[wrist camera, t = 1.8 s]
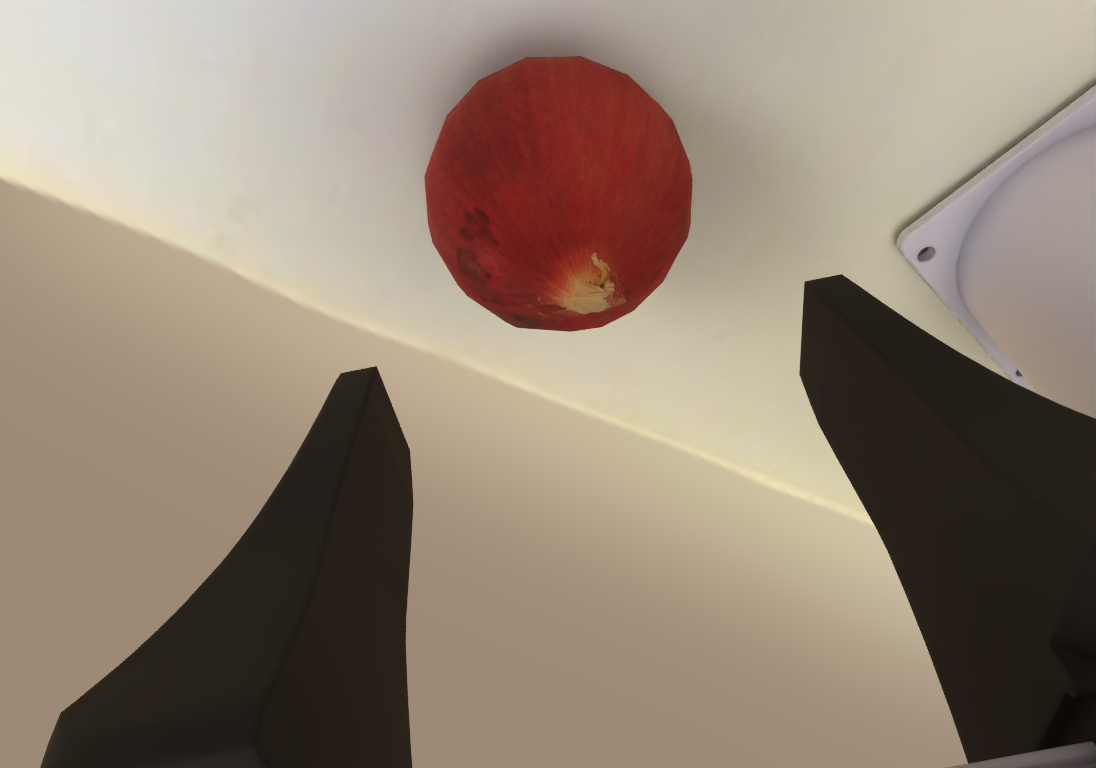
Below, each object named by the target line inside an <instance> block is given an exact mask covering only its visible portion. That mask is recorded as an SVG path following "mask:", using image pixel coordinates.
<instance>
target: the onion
mask: <svg viewBox="0 0 1096 768" xmlns="http://www.w3.org/2000/svg"><path fill="white" fill-rule="evenodd" d="M425 188H426V202H427V215H428V225H429V229H430V234H431V238H432V242H433V244H434V246H435V247H436V249H437V251H438V252H439V254H440V256H441V257H442V259H443V261H444V263H445V264H446V266H447V268H448V269H449V271H450V273H451V274H452V276H453V278H454V280H455V281H456V283H457V284H458V286H459V287H460V288H461V289H462V290H463V291H464V293H465V294H466V295H467V296H468V297H470V298H471V299H473V300H474V301H476V302H477V303H479V304H480V305H481V306H483V307H484V308H486V309H487V310H489V311H490V312H492V313H493V314H495V315H496V316H498V317H499V318H501V319H502V320H504V321H505V322H507V323H509V324H511V325H513V326H515V327H518V328H528V329H542V330H556V331H570V332H571V331H578V330H585V329H591V328H598V327H603V326H604V325H606V324H608V323H610V322H612V321H614V320H616V319H618V318H620V317H622V316H624V315H626V314H628V313H630V312H632V311H634V310H635V309H636V308H637V307H638V306H639V305H640V304H641V303H642V302H643V301H644V300H645V299H646V298H647V297H648V296H649V295H650V294H651V293H652V292H653V291H654V290H655V289H656V288H657V287H658V286H659V285H660V284H661V283H662V282H663V281H664V279H665V277H666V275H667V274H668V272H669V270H670V268H671V266H672V264H673V262H674V260H675V258H676V257H677V255H678V253H679V251H680V250H681V248H682V246H683V245H684V243H685V241H686V239H687V238H688V233H689V228H690V221H691V200H692V174H691V168H690V162H689V160H688V157H687V155H686V152H685V150H684V147H683V145H682V142H681V140H680V137H679V135H678V133H677V130H676V128H675V125H674V123H673V120H672V119H671V118H670V116H669V115H668V114H667V113H666V112H665V111H664V109H663V108H662V107H661V106H660V105H659V104H658V103H657V102H656V101H655V100H654V99H653V98H651V97H650V96H649V95H648V94H647V93H646V92H645V91H644V90H643V89H642V88H641V87H640V86H639V85H638V84H637V83H636V82H635V81H634V80H633V79H631V78H630V77H629V76H628V75H627V74H624V73H622V72H619V71H617V70H614V69H611V68H609V67H606V66H604V65H601V64H599V63H596V62H593V61H591V60H588V59H586V58H583V57H581V56H572V57H526V58H524V59H522V60H520V61H518V62H516V63H514V64H512V65H510V66H508V67H506V68H504V69H502V70H500V71H498V72H496V73H494V74H491V75H489V76H487V77H485V78H483V79H481V80H479V81H478V82H477V83H476V85H475V86H474V87H473V88H472V89H471V90H470V91H469V92H468V93H467V94H466V95H465V97H464V98H463V99H462V100H461V101H460V102H459V103H458V104H457V105H456V106H455V107H454V108H453V110H452V111H451V112H450V113H449V114H448V115H447V117H446V119H445V122H444V124H443V127H442V130H441V132H440V135H439V138H438V140H437V143H436V145H435V148H434V151H433V153H432V156H431V159H430V162H429V165H428V168H427V171H426V174H425Z"/></svg>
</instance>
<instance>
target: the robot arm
mask: <svg viewBox="0 0 1096 768" xmlns="http://www.w3.org/2000/svg"><path fill="white" fill-rule="evenodd" d="M897 247H898V250H899V251H900V252H901V253H902V255H903V256H904V257H905V258H906V259H907V261H908V262H909V263H910V264H911V265H912V266H913V267H914V269H915V270H916V271H917V272H918V273H919V274H920V276H921V277H922V278H923V279H924V280H925V281H926V283H927V284H928V285H929V286H930V287H931V288H932V289H933V291H934V292H935V293H936V294H937V295H938V296H939V298H940V299H941V300H942V301H943V302H944V303H945V304H946V306H947V307H948V308H949V309H950V310H951V311H952V313H953V314H954V315H955V316H956V317H957V318H958V320H959V321H960V322H961V323H962V324H963V325H964V326H965V328H966V329H967V330H968V331H969V332H970V333H971V335H972V336H973V337H974V338H975V339H976V340H977V342H978V343H979V344H980V345H981V346H982V347H983V348H984V350H985V351H986V352H987V353H988V354H989V355H990V357H991V358H992V359H993V360H994V361H995V362H996V364H997V365H998V366H999V367H1000V368H1001V369H1002V370H1003V372H1004V373H1005V374H1006V375H1007V376H1008V377H1009V379H1010V380H1011V381H1010V380H1008V379H1006V378H1004V377H1002V376H1000V375H998V374H996V373H995V372H993V371H991V370H989V369H987V368H986V367H984V366H982V365H980V364H979V363H977V362H975V361H973V360H971V359H970V358H968V357H966V356H964V355H963V354H961V353H959V352H958V351H956V350H954V349H953V348H951V347H949V346H948V345H946V344H944V343H943V342H941V341H940V340H938V339H936V338H935V337H933V336H932V335H930V334H928V333H927V332H925V331H924V330H922V329H921V328H919V327H918V326H916V325H915V324H913V323H912V322H910V321H909V320H907V319H906V318H904V317H903V316H901V315H900V314H898V313H897V312H895V311H894V310H892V309H891V308H890V307H888V306H887V305H885V304H884V303H882V302H881V301H879V300H878V299H877V298H875V297H874V296H872V295H871V294H869V293H868V292H867V291H865V290H864V289H862V288H861V287H859V286H858V285H857V284H855V283H854V282H852V281H851V280H849V279H848V278H846V277H845V276H843V275H842V274H841V275H836V276H831V277H826V278H821V279H816V280H811V281H806V282H805V284H804V302H803V320H802V339H801V357H800V377H801V380H802V382H803V385H804V388H805V390H806V393H807V396H808V398H809V401H810V404H811V406H812V409H813V411H814V414H815V416H816V419H817V421H818V424H819V426H820V428H821V429H822V431H823V433H824V435H825V437H826V439H827V441H828V442H829V444H830V446H831V448H832V450H833V452H834V453H835V455H836V457H837V459H838V461H839V462H840V464H841V466H842V468H843V470H844V471H845V473H846V475H847V477H848V479H849V480H850V482H851V484H852V486H853V487H854V489H855V491H856V493H857V495H858V496H859V498H860V500H861V502H862V504H863V505H864V507H865V509H866V511H867V512H868V514H869V516H870V518H871V520H872V521H873V523H874V525H875V527H876V529H877V531H878V533H879V535H880V537H881V539H882V541H883V543H884V544H885V547H886V549H887V550H888V553H889V555H890V558H891V560H892V562H893V564H894V567H895V569H896V572H897V574H898V577H899V579H900V581H901V584H902V586H903V589H904V591H905V593H906V596H907V598H908V601H909V603H910V606H911V608H912V611H913V613H914V615H915V618H916V621H917V623H918V626H919V628H920V631H921V633H922V636H923V638H924V640H925V643H926V646H927V649H928V651H929V654H930V656H931V659H932V662H933V665H934V667H935V670H936V673H937V675H938V678H939V681H940V684H941V686H942V689H943V692H944V695H945V697H946V700H947V703H948V705H949V708H950V711H951V714H952V716H953V719H954V723H955V725H956V728H957V731H958V734H959V737H960V740H961V743H962V746H963V749H964V752H965V755H966V758H967V761H968V764H964V765H959V766H953V767H948V768H1096V85H1095V86H1094V87H1092V88H1091V89H1090V90H1088V91H1087V92H1086V93H1084V94H1083V95H1082V96H1080V97H1079V98H1078V99H1076V100H1075V101H1074V102H1072V103H1071V104H1070V105H1068V106H1067V107H1066V108H1064V109H1063V110H1062V111H1061V112H1059V113H1058V114H1057V115H1055V116H1054V117H1053V118H1051V119H1050V120H1049V121H1047V122H1046V123H1045V124H1043V125H1042V126H1041V127H1039V128H1038V129H1037V130H1035V131H1034V132H1033V133H1031V134H1030V135H1029V136H1027V137H1026V138H1025V139H1023V140H1022V141H1021V142H1019V143H1018V144H1017V145H1015V146H1014V147H1013V148H1011V149H1010V150H1009V151H1008V152H1006V153H1005V154H1004V155H1002V156H1001V157H1000V158H998V159H997V160H996V161H994V162H993V163H992V164H990V165H989V166H988V167H986V168H985V169H984V170H982V171H981V172H980V173H978V174H977V175H976V176H974V177H973V178H972V179H970V180H969V181H968V182H966V183H965V184H964V185H962V186H961V187H960V188H959V189H957V190H956V191H955V192H953V193H952V194H951V195H949V196H948V197H947V198H945V199H944V200H943V201H941V202H940V203H939V204H937V205H936V206H935V207H933V208H932V209H931V210H929V211H928V212H927V213H925V214H924V215H923V216H921V217H920V218H919V219H917V220H916V221H915V222H913V223H912V224H911V225H909V226H908V227H907V228H906V229H904V230H903V231H902V232H901V233H900V235H899V237H898V239H897ZM926 247H929V248H928V250H927V251H926V252H925V253H923V254H921V255H918V254H919V252H920V251H921V250H922V249H924V248H926ZM412 490H413V488H412V473H411V459H410V449H409V447H408V444H407V442H406V439H405V437H404V435H403V432H402V429H401V427H400V424H399V422H398V419H397V417H396V414H395V412H394V409H393V407H392V404H391V402H390V399H389V397H388V394H387V392H386V389H385V386H384V384H383V381H382V379H381V377H380V374H379V371H378V369H377V366H376V367H370V368H366V369H361V370H355V371H350V372H345V373H341V374H340V376H339V377H338V379H337V380H336V382H335V384H334V386H333V388H332V389H331V391H330V393H329V395H328V397H327V399H326V401H325V403H324V405H323V407H322V409H321V411H320V412H319V415H318V416H317V418H316V420H315V422H314V424H313V425H312V427H311V429H310V431H309V433H308V435H307V437H306V438H305V440H304V442H303V443H302V445H301V447H300V449H299V450H298V452H297V454H296V456H295V457H294V459H293V461H292V463H291V464H290V466H289V468H288V470H287V471H286V473H285V474H284V476H283V477H282V479H281V480H280V482H279V483H278V485H277V487H276V488H275V490H274V491H273V493H272V494H271V496H270V497H269V499H268V501H267V502H266V503H265V505H264V507H263V508H262V510H261V511H260V513H259V514H258V515H257V517H256V518H255V520H254V521H253V522H252V524H251V525H250V527H249V528H248V529H247V531H246V532H245V533H244V535H243V536H242V537H241V539H240V540H239V541H238V543H237V544H236V545H235V546H234V548H233V549H232V550H231V551H230V553H229V554H228V555H227V556H226V558H225V559H224V560H223V561H222V562H221V564H220V565H219V566H218V567H217V568H216V569H215V570H214V571H213V572H212V574H211V575H210V576H209V577H208V578H207V579H206V580H205V581H204V582H203V583H202V585H201V586H200V587H199V588H198V589H197V590H196V591H195V592H194V593H193V594H192V596H191V597H190V598H189V599H188V600H187V601H186V602H185V604H183V606H181V607H180V608H179V609H178V611H177V612H176V613H175V614H174V615H172V616H171V617H170V619H168V621H166V623H164V624H163V625H162V626H161V627H160V628H159V629H158V630H157V631H156V632H155V633H154V634H153V635H152V636H151V637H150V638H149V639H148V640H146V641H145V642H144V643H143V644H142V645H141V646H140V647H139V648H138V649H137V650H136V651H135V652H134V653H132V654H131V655H130V656H129V657H128V658H127V659H126V660H125V661H123V662H122V663H121V664H120V665H119V666H118V667H116V668H115V669H114V670H113V671H112V672H110V673H109V674H108V675H107V676H105V677H104V678H103V679H102V680H101V681H100V682H98V683H97V684H96V685H95V686H94V687H92V688H91V689H90V690H89V691H87V692H86V693H85V694H84V695H83V696H81V697H80V698H79V699H78V700H77V701H75V702H74V703H73V704H71V705H70V706H69V707H68V708H66V709H65V710H64V711H63V712H61V714H60V716H59V719H58V721H57V723H56V726H55V728H54V731H53V733H52V736H51V738H50V741H49V743H48V746H47V749H46V752H45V756H44V758H43V761H42V764H41V768H412V759H411V743H410V727H409V709H408V689H407V667H406V666H407V665H406V611H407V596H408V580H409V566H410V551H411V536H412V518H413V491H412Z"/></svg>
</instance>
